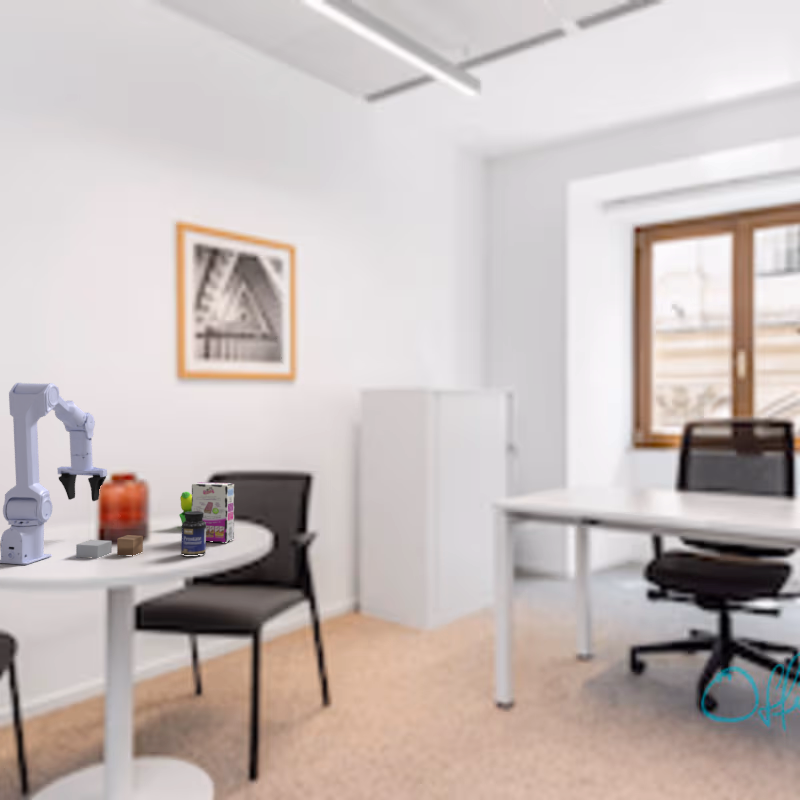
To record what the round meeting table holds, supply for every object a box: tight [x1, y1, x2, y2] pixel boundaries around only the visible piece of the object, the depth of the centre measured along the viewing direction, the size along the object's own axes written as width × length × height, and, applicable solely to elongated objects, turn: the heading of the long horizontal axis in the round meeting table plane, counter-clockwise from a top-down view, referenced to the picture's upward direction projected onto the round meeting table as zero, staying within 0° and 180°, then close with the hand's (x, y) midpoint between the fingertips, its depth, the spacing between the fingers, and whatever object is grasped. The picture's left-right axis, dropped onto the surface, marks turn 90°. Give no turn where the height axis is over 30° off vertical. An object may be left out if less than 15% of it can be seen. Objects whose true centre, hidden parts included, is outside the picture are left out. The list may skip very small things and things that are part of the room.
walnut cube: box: [116, 534, 144, 556], centre depth 183 cm, size 4×4×4 cm
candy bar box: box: [191, 481, 235, 543], centre depth 200 cm, size 11×5×16 cm, turn 76°
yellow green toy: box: [178, 491, 192, 524], centre depth 219 cm, size 11×9×11 cm
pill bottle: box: [180, 511, 207, 555], centre depth 183 cm, size 6×6×11 cm
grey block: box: [75, 539, 113, 559], centre depth 181 cm, size 6×6×4 cm
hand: (83, 499), depth 205 cm, fingers open, 7 cm apart
